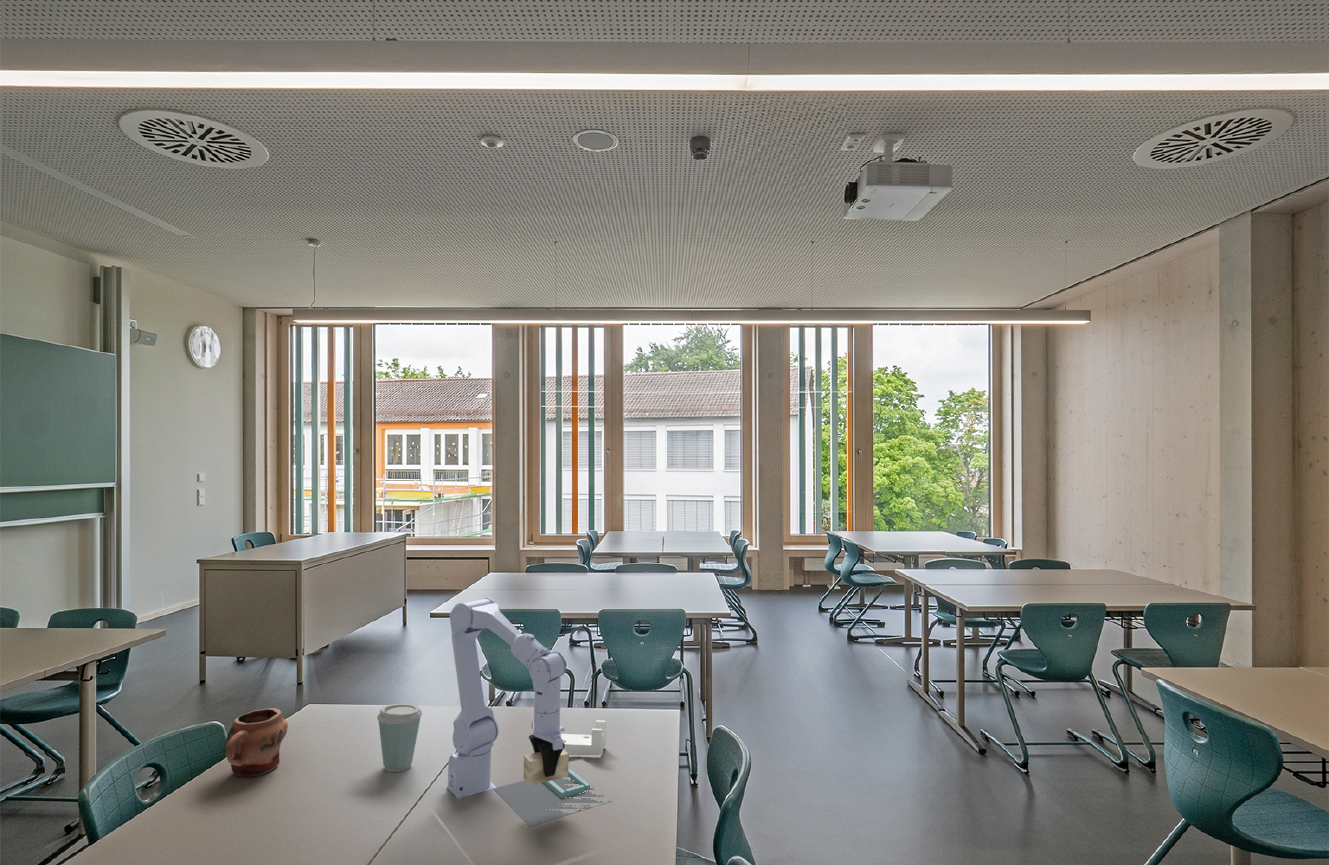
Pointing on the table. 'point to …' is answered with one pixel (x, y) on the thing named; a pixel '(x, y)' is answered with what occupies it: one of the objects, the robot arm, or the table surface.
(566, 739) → the bracket
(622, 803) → the table surface
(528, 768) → the birch block
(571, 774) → the teal frame
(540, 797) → the rubber mat
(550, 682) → the robot arm
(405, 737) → the disposable coffee cup
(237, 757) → the decorative planter
